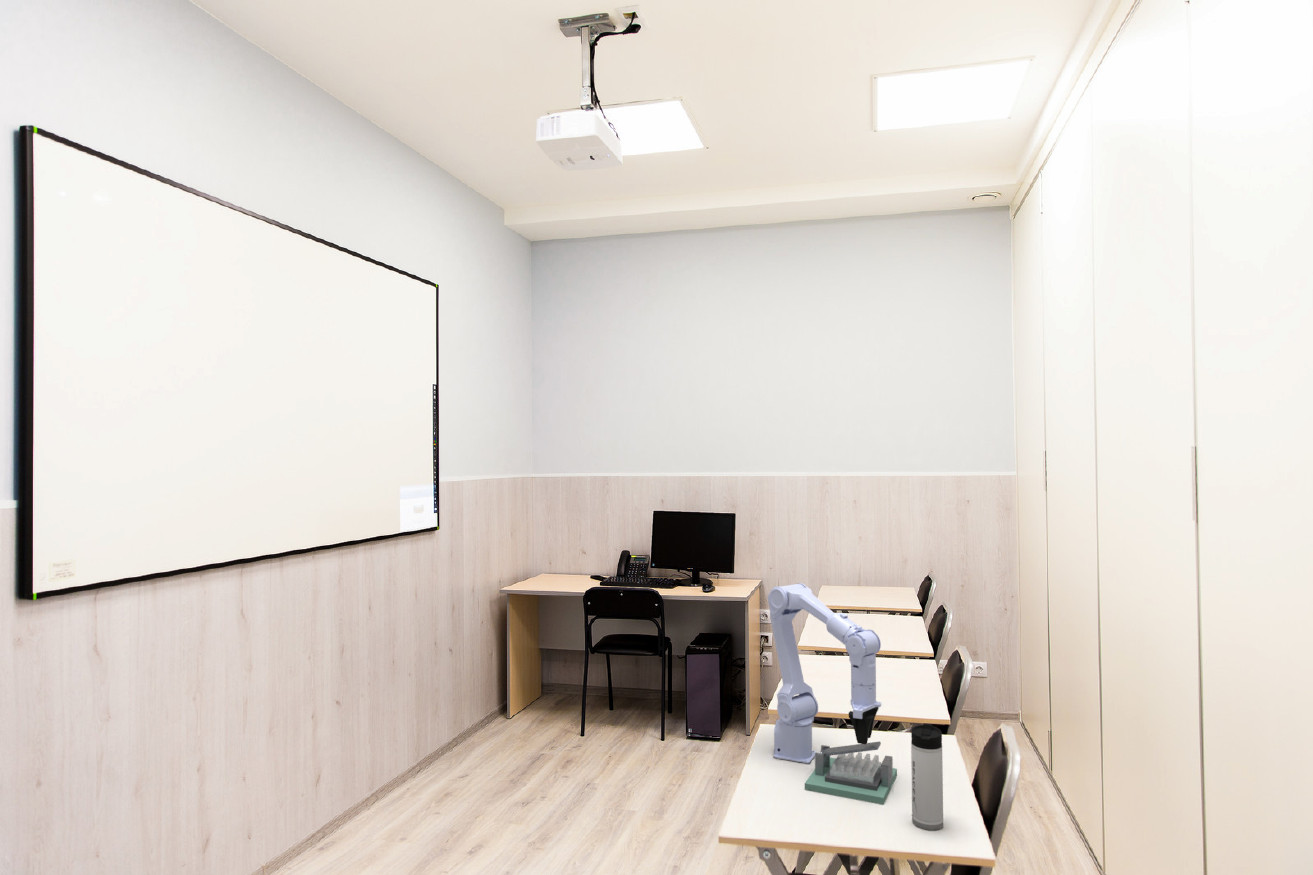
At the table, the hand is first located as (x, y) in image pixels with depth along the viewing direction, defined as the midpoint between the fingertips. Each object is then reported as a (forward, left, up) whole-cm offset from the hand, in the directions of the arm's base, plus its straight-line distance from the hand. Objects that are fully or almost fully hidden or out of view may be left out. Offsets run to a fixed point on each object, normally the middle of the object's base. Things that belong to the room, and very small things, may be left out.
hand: (864, 740), depth 185 cm
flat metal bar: (-3, 0, -3) cm, 5 cm away
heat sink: (-3, 0, -9) cm, 9 cm away
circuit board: (-3, 0, -10) cm, 11 cm away
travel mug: (+16, -14, -11) cm, 24 cm away
